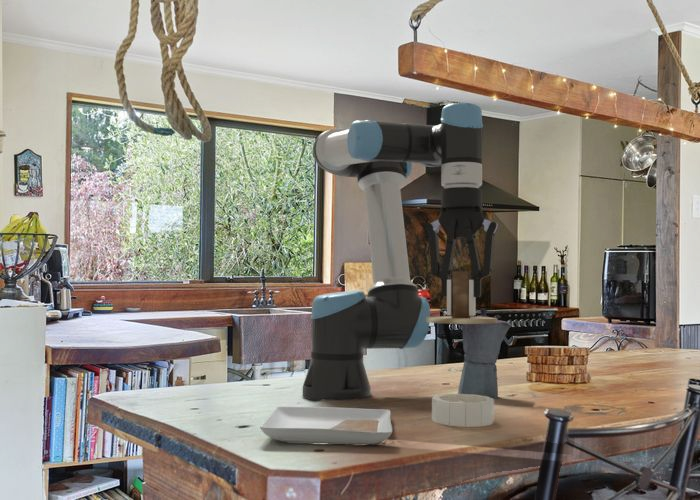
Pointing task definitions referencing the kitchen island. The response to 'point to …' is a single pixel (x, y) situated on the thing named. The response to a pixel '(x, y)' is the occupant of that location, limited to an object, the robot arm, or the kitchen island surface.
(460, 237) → the robot arm
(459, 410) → the bowl
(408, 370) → the kitchen island surface
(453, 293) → the lid
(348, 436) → the salad plate
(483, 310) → the moka pot
